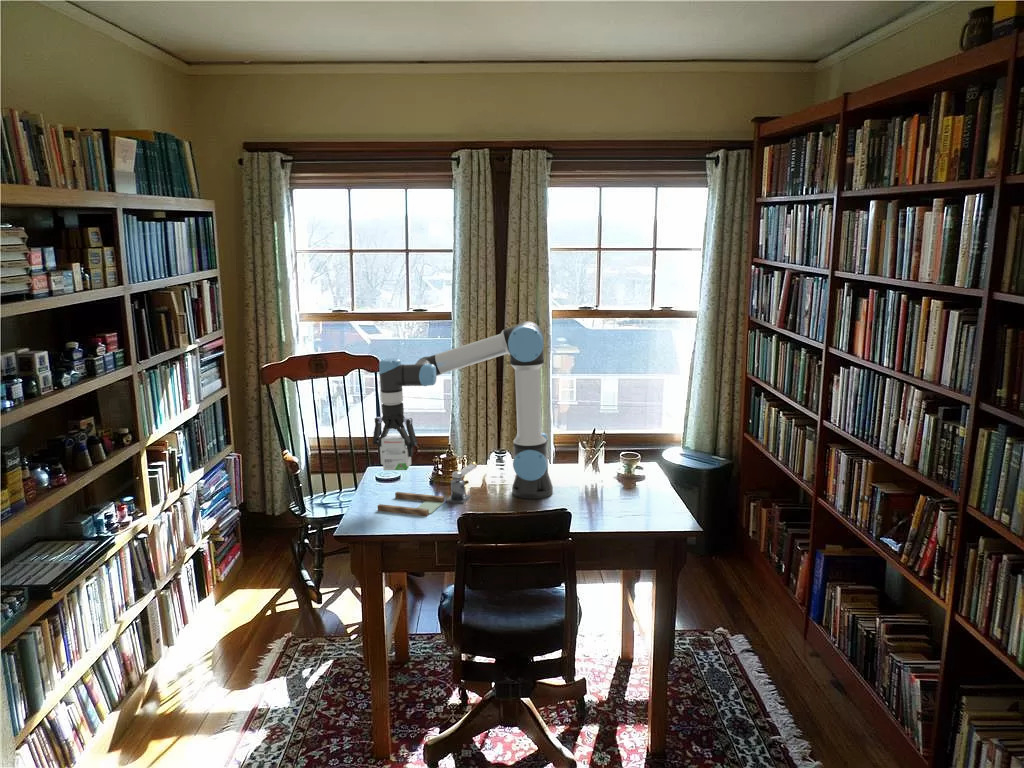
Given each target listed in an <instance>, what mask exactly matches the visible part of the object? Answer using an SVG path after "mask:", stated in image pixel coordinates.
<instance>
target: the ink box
mask: <svg viewBox="0 0 1024 768" xmlns="http://www.w3.org/2000/svg"><path fill="white" fill-rule="evenodd" d="M381 444H382V457H383V464H382V466H383V467H382V469H383V471H407V470H408V469H409V468H410V465H409V466H406V455H405V448H407V446H406V444H405V440H404V439H403V438H402V437H401V435H387V436H385V437H383V438H382V439H381Z"/></svg>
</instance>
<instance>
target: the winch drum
mask: <svg viewBox="0 0 1024 768" xmlns="http://www.w3.org/2000/svg"><path fill="white" fill-rule="evenodd" d="M465 488H466V487H465V480H464V479H463V478H462V479H452V480H450V495H449V497H447V498H446V499H445V503H454V504H465V503H466V502H467V501H468V500H469V499H470V498H471V496H472V495H470V494H466V492H465V491H466V490H465Z"/></svg>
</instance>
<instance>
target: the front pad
mask: <svg viewBox="0 0 1024 768" xmlns="http://www.w3.org/2000/svg"><path fill="white" fill-rule="evenodd" d="M443 505H444V502H443V503H442V502H432V501H423V502H422V503H421V504H419V506H417V507H416V508H421V509H429V515H432V514H433V513H434V512H435V511H437V510H438V509H439V508H441V506H443Z"/></svg>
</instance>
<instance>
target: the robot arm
mask: <svg viewBox="0 0 1024 768" xmlns="http://www.w3.org/2000/svg"><path fill="white" fill-rule="evenodd" d="M544 340H545V335H544V332H543V329H542V328H541V327H540V326H539V325H538V324H537V323H535V322H532V321H528V320H527V321H521V322H520V323H517V324H516V325H513V326H511V327H507V328H505V329H502V331H501V332H500V333H499V334H496V335H492V336H489V337H486V338H483V339H480V340H477V341H474V342H470V343H467V344H464V345H461V346H458V347H454V348H451V349H449V350H446V351H442V352H439V353H436V354H432V355H430V356H423V357H420V359H418V360H417V361H416V363H414V364H403V363H402V362H401V359H399V358H391V357H390V358H384V359H381V360H380V361H379V364H378V365H379V366H378V368H379V371H378V374H379V383H380V398H381V399H380V401H381V403H382V404H381V413H382V416H376V417H374V430H373V436H372V437H373V438H372V444H373V445H375V446H377V452H378V455H380V465H383V457H382V444H381V439H382V438H383V437H385V436H388V434H389V431H390V430H391V429H393V430H397V432H398V433H399V436H401V437H402V438H403V439H404V440H405V444H406V446H407V448H405V455H406V466H409V467H410V466H411V465H412V457H413V455H414V449H413V448H414V447H416V446H418V440H417V437H416V436H417V435H416V433H415V430H414V425H413V418H411V417H410V418H406V417H405V415H404V413H405V412H404V411H405V410H404V403H403V401H404V398H403V397H404V396H403V387H427V386H434V385H435V384H436V383H437V376H440V375H443V374H446V373H450V372H453V371H456V370H459V369H462V368H466V367H468V366H473V365H475V364H476V365H477V364H478V363H482V362H485V361H488V360H491V359H495V358H498V357H501V356H505V355H509V364H510V366H511V367H512V368H513V369H514V380H515V381H514V383H515V410H516V429H517V431H516V432H517V433H516V436H515V438H514V439H513V442H512V445H513V446H512V447H513V461H512V467H513V470H514V472H515V477H514V480H513V483H512V487H511V488H512V489H511V491H512V495H513V496H515V497H516V498H519V499H526V500H537V499H538V500H539V499H544V498H547V497H549V496H551V495H552V494H553V493H554V491H553V490H554V489H553V488H554V487H553V483H552V480H551V477H550V474H549V469H548V468H549V467H548V466H549V461H548V460H549V458H548V457H549V455H548V454H549V453H548V442H549V439H548V434H547V433H545V432H543V428H542V425H543V424H542V401H541V400H542V397H541V370H540V368H541V367H542V366H543V365H544V363H545V357H544V356H545V354H544V349H545V348H544V346H545V344H544V343H545V342H544ZM382 423H384V426H383V428H382ZM381 430H382V432H381Z"/></svg>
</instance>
